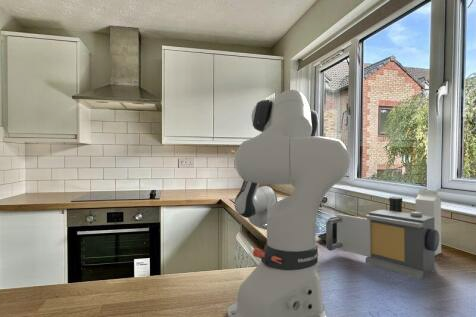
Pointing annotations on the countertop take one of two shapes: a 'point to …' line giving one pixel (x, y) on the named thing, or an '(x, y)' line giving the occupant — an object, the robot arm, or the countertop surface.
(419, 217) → the camera case
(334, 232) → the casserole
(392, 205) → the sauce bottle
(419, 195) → the milk
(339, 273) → the countertop surface
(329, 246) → the side door
